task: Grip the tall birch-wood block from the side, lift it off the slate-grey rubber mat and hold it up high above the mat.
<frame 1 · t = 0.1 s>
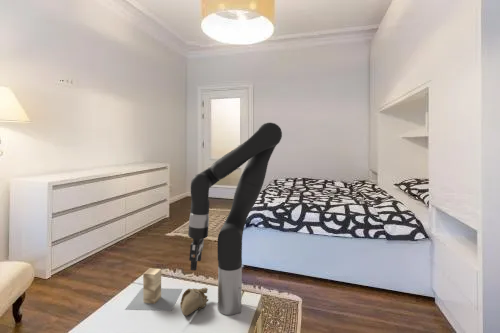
hand: (195, 265, 103), 17 cm above the table, tool pointing down, fingers open, 8 cm apart
slate mat: (155, 299, 109), on the table
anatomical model: (193, 309, 104), on the table
birch block: (152, 299, 108), resting on slate mat
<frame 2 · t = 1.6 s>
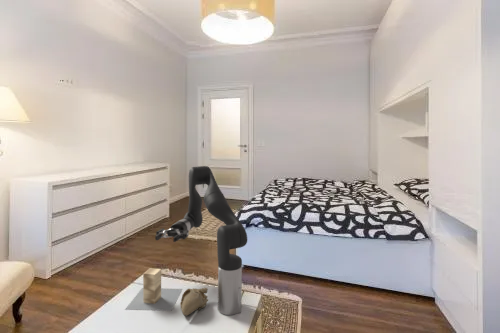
hand: (165, 239, 118), 22 cm above the table, tool horizontal, fingers open, 8 cm apart
nothing on the table moved.
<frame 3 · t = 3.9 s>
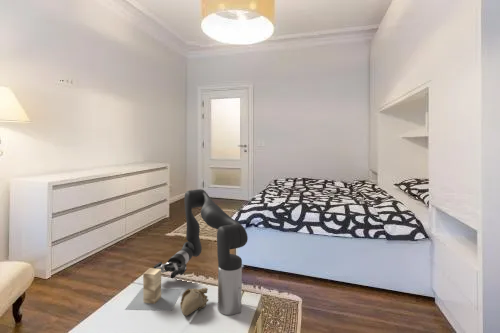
hand: (162, 275, 115), 7 cm above the table, tool horizontal, fingers open, 8 cm apart
nothing on the table moved.
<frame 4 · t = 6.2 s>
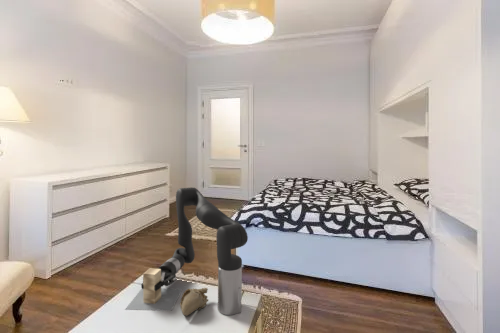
hand: (148, 287, 105), 7 cm above the table, tool horizontal, fingers closed on birch block, 5 cm apart
birch block: (152, 299, 108), point 1 cm above the table, touching gripper, slate mat
everything else where it was.
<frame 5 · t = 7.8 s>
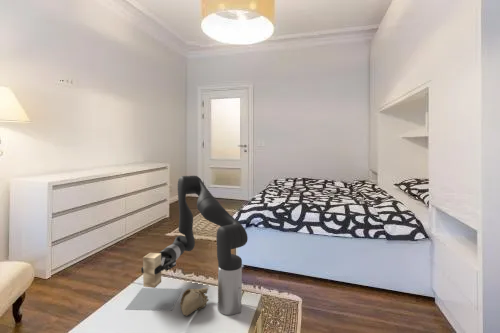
hand: (148, 271, 105), 14 cm above the table, tool horizontal, fingers closed on birch block, 5 cm apart
birch block: (152, 284, 107), point 7 cm above the table, touching gripper
everything else where it was.
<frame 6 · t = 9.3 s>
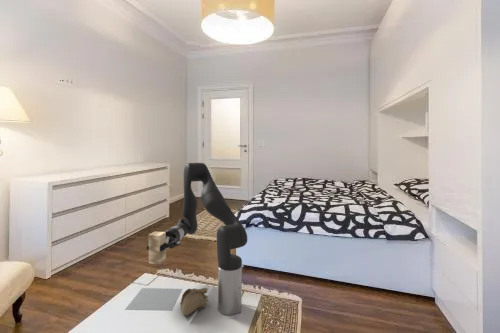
hand: (154, 248, 108), 22 cm above the table, tool horizontal, fingers closed on birch block, 5 cm apart
birch block: (157, 261, 111), point 15 cm above the table, touching gripper
everything else where it was.
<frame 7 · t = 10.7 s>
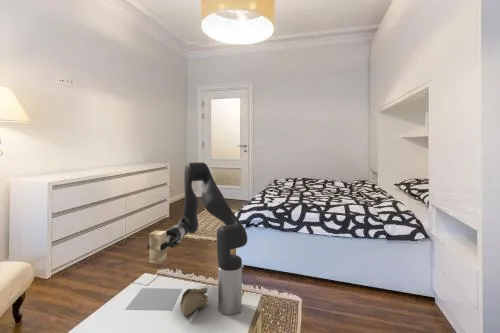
hand: (154, 247, 108), 22 cm above the table, tool horizontal, fingers closed on birch block, 5 cm apart
birch block: (158, 260, 111), point 15 cm above the table, touching gripper
everything else where it was.
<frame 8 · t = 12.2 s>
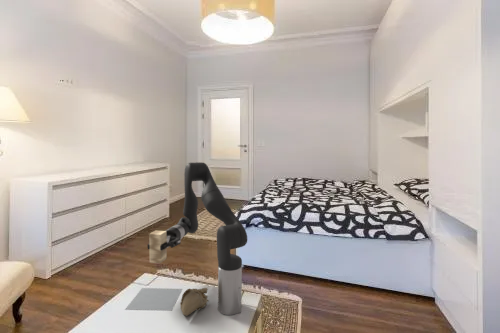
hand: (154, 247, 108), 22 cm above the table, tool horizontal, fingers closed on birch block, 5 cm apart
birch block: (158, 260, 111), point 15 cm above the table, touching gripper
everything else where it was.
at the end: birch block inside the target area (1.6 cm from its centre), point 15.4 cm above the table; the gripper is holding birch block; birch block tilted 0° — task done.
